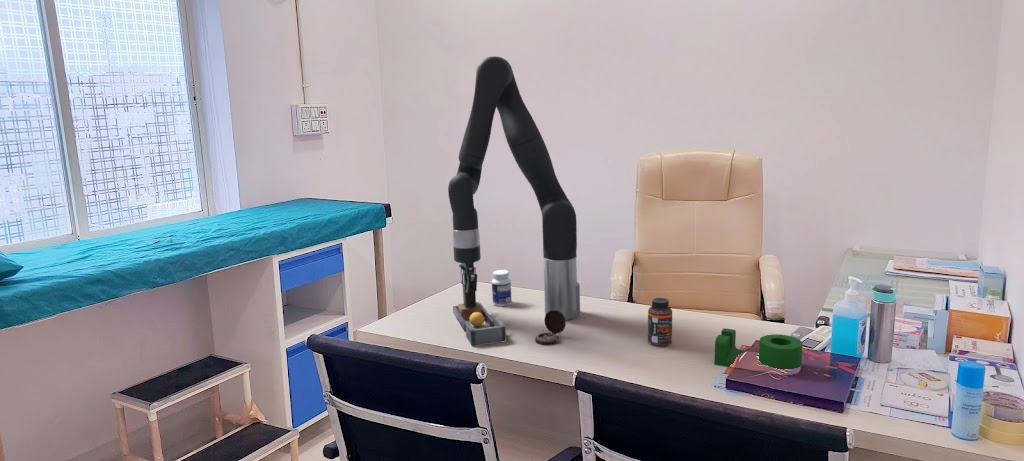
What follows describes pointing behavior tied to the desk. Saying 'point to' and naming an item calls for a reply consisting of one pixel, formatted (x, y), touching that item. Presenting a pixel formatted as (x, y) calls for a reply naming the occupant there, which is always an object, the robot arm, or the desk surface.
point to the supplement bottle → (660, 323)
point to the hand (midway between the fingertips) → (469, 302)
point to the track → (462, 321)
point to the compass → (552, 328)
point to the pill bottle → (501, 288)
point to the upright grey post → (468, 309)
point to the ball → (476, 319)
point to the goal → (486, 334)
